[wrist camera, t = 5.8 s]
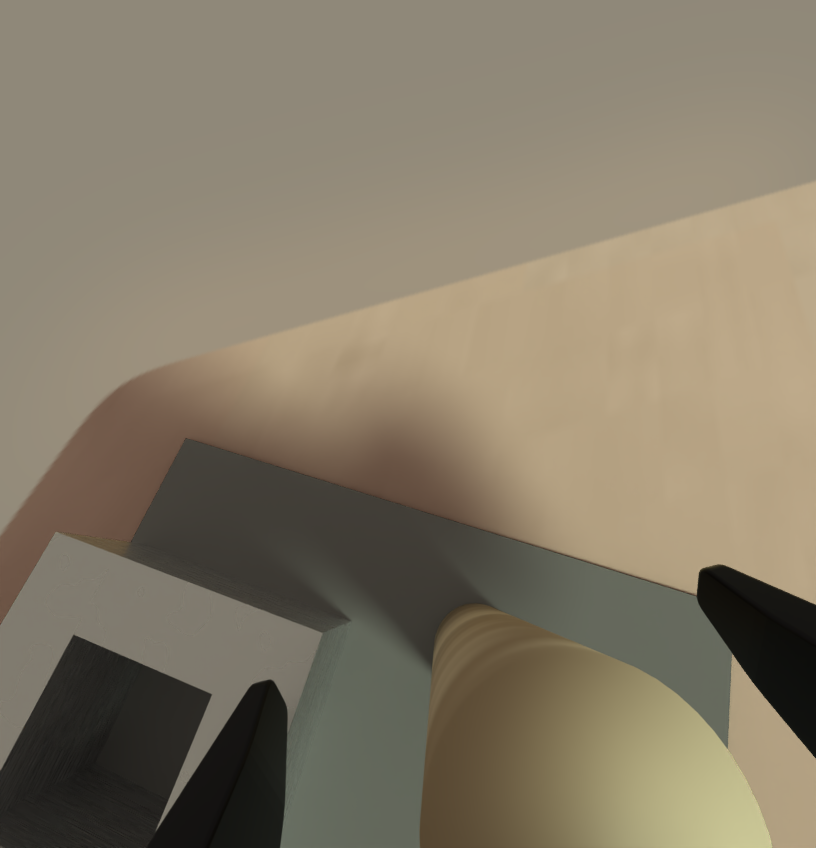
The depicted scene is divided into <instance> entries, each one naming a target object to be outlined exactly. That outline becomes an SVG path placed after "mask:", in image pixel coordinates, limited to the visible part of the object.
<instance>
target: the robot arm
mask: <svg viewBox="0 0 816 848" xmlns="http://www.w3.org/2000/svg"><path fill="white" fill-rule="evenodd" d="M697 600H698V604H699V606H700V608H701V609H702V611H703V612H704V614H705V615H706V617H707V618H708V620H709V621H710V622H711V624H712V625H713V627H714V628H715V630H716V631H717V632H718V634H719V635H720V637H721V638H722V640H723V641H724V642H725V644H726V645H727V647H728V648H729V650H730V651H731V652H732V654H733V655H734V657H735V658H736V660H737V661H738V662H739V664H740V665H741V667H742V668H743V670H744V671H745V672H746V674H747V675H748V676H749V678H750V679H751V681H752V682H753V683H754V685H755V686H756V687H757V688H758V690H759V691H760V692H761V693H762V694H763V696H764V697H765V698H766V699H767V701H768V702H769V703H770V704H771V705H772V707H773V708H774V709H775V710H776V711H777V713H778V714H779V715H780V716H781V717H782V719H783V720H784V721H785V722H786V723H787V725H788V726H789V727H790V728H791V729H792V731H793V732H794V733H795V734H796V735H797V737H798V738H799V739H800V740H801V741H802V743H803V744H804V745H805V746H806V747H807V749H808V750H809V751H810V752H811V753H812V755H813V756H814V757H815V758H816V605H815V604H813V603H810V602H808V601H806V600H804V599H801V598H799V597H797V596H794V595H792V594H790V593H787V592H785V591H783V590H781V589H778V588H776V587H774V586H771V585H769V584H767V583H764V582H762V581H760V580H758V579H755V578H753V577H751V576H748V575H746V574H744V573H741V572H739V571H737V570H734V569H732V568H730V567H728V566H725V565H713V566H710V567H706V568H703V569H701V570H700V572H699V578H698V588H697ZM287 726H288V711H287V706H286V703H285V701H284V699H283V697H282V695H281V693H280V691H279V689H278V687H277V686H276V684H275V682H274V681H273V680H271V679H268V680H264V681H260V682H256V683H254V684H252V685H251V686H250V687H249V688H248V690H247V691H246V693H245V694H244V696H243V697H242V699H241V700H240V702H239V704H238V705H237V707H236V708H235V710H234V711H233V713H232V714H231V716H230V717H229V719H228V721H227V722H226V724H225V725H224V727H223V728H222V730H221V731H220V733H219V735H218V736H217V738H216V739H215V741H214V742H213V744H212V745H211V747H210V748H209V750H208V752H207V753H206V755H205V756H204V758H203V759H202V761H201V762H200V764H199V765H198V767H197V769H196V770H195V772H194V773H193V775H192V776H191V778H190V779H189V781H188V782H187V784H186V786H185V787H184V789H183V790H182V792H181V793H180V795H179V796H178V798H177V799H176V801H175V803H174V804H173V806H172V807H171V809H170V810H169V812H168V813H167V815H166V816H165V818H164V820H163V821H162V823H161V824H160V826H159V827H158V829H157V830H156V832H155V833H154V835H153V837H152V838H151V840H150V841H149V843H148V844H147V846H146V847H145V848H280V846H281V838H282V829H283V820H284V810H285V793H286V760H287Z"/></svg>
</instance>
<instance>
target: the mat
mask: <svg viewBox="0 0 816 848" xmlns="http://www.w3.org/2000/svg"><path fill="white" fill-rule="evenodd" d="M131 542H134V543H141V544H145V545H147V546H150V547H153V548H155V549H158V550H161V551H164V552H166V553H169V554H172V555H174V556H177V557H180V558H182V559H185V560H188V561H191V562H193V563H196V564H199V565H201V566H204V567H207V568H210V569H212V570H215V571H218V572H220V573H223V574H226V575H228V576H231V577H234V578H237V579H239V580H242V581H245V582H247V583H250V584H253V585H255V586H258V587H261V588H264V589H266V590H269V591H272V592H274V593H277V594H280V595H283V596H285V597H288V598H291V599H293V600H296V601H299V602H301V603H304V604H307V605H310V606H312V607H315V608H318V609H320V610H323V611H326V612H329V613H331V614H334V615H337V616H339V617H342V618H345V619H347V620H350V621H352V622H351V625H350V628H349V631H348V634H347V637H346V640H345V643H344V646H343V649H342V652H341V655H340V658H339V661H338V664H337V667H336V670H335V673H334V676H333V679H332V682H331V685H330V688H329V691H328V694H327V697H326V700H325V703H324V706H323V709H322V712H321V715H320V718H319V721H318V724H317V727H316V730H315V733H314V736H313V739H312V742H311V745H310V748H309V751H308V754H307V757H306V760H305V763H304V766H303V769H302V772H301V775H300V778H299V781H298V784H297V787H296V790H295V793H294V796H293V799H292V803H291V806H290V809H289V812H288V815H287V818H286V821H285V824H284V827H283V830H282V838H281V846H280V848H420V834H419V828H420V815H421V802H422V790H423V777H424V765H425V752H426V740H427V727H428V715H429V702H430V690H431V677H432V664H433V652H434V641H435V636H436V633H437V630H438V627H439V625H440V624H441V622H442V620H443V619H444V618H445V617H446V615H447V614H449V613H450V612H451V611H452V610H454V609H455V608H457V607H459V606H462V605H465V604H470V603H479V604H484V605H488V606H490V607H493V608H495V609H497V610H500V611H502V612H505V613H507V614H509V615H512V616H514V617H517V618H519V619H521V620H524V621H526V622H529V623H531V624H533V625H536V626H538V627H540V628H543V629H545V630H548V631H550V632H552V633H555V634H557V635H560V636H562V637H564V638H567V639H569V640H571V641H574V642H576V643H579V644H581V645H583V646H586V647H588V648H591V649H593V650H595V651H598V652H600V653H603V654H605V655H607V656H610V657H612V658H614V659H617V660H619V661H622V662H624V663H626V664H629V665H631V666H634V667H636V668H638V669H640V670H641V671H643V672H645V673H647V674H649V675H650V676H652V677H654V678H656V679H657V680H659V681H660V682H661V683H663V684H664V685H666V686H667V687H668V688H670V689H671V690H672V691H674V692H675V693H677V694H678V695H679V696H680V697H681V698H682V699H683V700H684V701H685V702H687V703H688V704H689V705H690V706H691V707H692V708H693V709H694V710H695V711H696V712H697V713H698V714H699V715H700V716H701V717H702V718H703V719H704V720H705V722H706V723H707V724H708V725H709V726H710V727H711V728H712V729H713V730H714V732H715V733H716V734H717V736H718V737H719V738H720V740H721V741H722V742H723V744H724V745H725V747H726V748H727V749H728V728H729V706H730V683H731V660H732V652H731V651H730V650H729V648H728V647H727V645H726V644H725V642H724V641H723V640H722V638H721V637H720V635H719V634H718V632H717V631H716V630H715V628H714V627H713V625H712V624H711V622H710V621H709V620H708V618H707V617H706V615H705V614H704V612H703V611H702V609H701V608H700V606H699V604H698V600H697V597H696V596H693V595H690V594H687V593H684V592H680V591H677V590H674V589H671V588H667V587H664V586H661V585H658V584H655V583H651V582H648V581H645V580H642V579H638V578H635V577H632V576H629V575H626V574H622V573H619V572H616V571H613V570H609V569H606V568H603V567H600V566H597V565H593V564H590V563H587V562H584V561H580V560H577V559H574V558H571V557H568V556H564V555H561V554H558V553H555V552H551V551H548V550H545V549H542V548H539V547H535V546H532V545H529V544H526V543H522V542H519V541H516V540H513V539H510V538H506V537H503V536H500V535H497V534H493V533H490V532H487V531H484V530H481V529H477V528H474V527H471V526H468V525H464V524H461V523H458V522H455V521H452V520H448V519H445V518H442V517H439V516H435V515H432V514H429V513H426V512H423V511H419V510H416V509H413V508H410V507H406V506H403V505H400V504H397V503H394V502H390V501H387V500H384V499H381V498H377V497H374V496H371V495H368V494H364V493H361V492H358V491H355V490H352V489H348V488H345V487H342V486H339V485H335V484H332V483H329V482H326V481H323V480H319V479H316V478H313V477H310V476H306V475H303V474H300V473H297V472H294V471H290V470H287V469H284V468H281V467H277V466H274V465H271V464H268V463H265V462H261V461H258V460H255V459H252V458H248V457H245V456H242V455H239V454H236V453H232V452H229V451H226V450H223V449H219V448H216V447H213V446H210V445H207V444H203V443H200V442H197V441H194V440H190V439H187V438H186V439H185V441H184V443H183V445H182V447H181V449H180V450H179V452H178V454H177V456H176V458H175V460H174V462H173V464H172V465H171V467H170V469H169V471H168V473H167V475H166V477H165V479H164V481H163V482H162V484H161V486H160V488H159V490H158V492H157V494H156V496H155V498H154V499H153V501H152V503H151V505H150V507H149V509H148V511H147V513H146V515H145V516H144V518H143V520H142V522H141V524H140V526H139V528H138V530H137V532H136V533H135V535H134V537H133V539H132V541H131ZM211 696H212V694H211V693H208V692H206V691H204V690H201V689H199V688H197V687H194V686H192V685H190V684H187V683H185V682H183V681H180V680H178V679H176V678H173V677H171V676H169V675H166V674H164V673H162V672H160V671H157V670H155V669H153V668H150V667H148V666H146V665H143V664H142V666H141V668H140V670H139V672H138V674H137V677H136V679H135V681H134V683H133V685H132V687H131V689H130V691H129V693H128V696H127V698H126V700H125V702H124V704H123V706H122V708H121V710H120V712H119V715H118V717H117V719H116V721H115V723H114V725H113V727H112V729H111V731H110V734H109V736H108V738H107V740H106V742H105V744H104V746H103V748H102V750H101V752H100V755H99V757H98V759H97V761H96V763H95V764H97V765H99V766H101V767H103V768H105V769H107V770H109V771H111V772H113V773H115V774H117V775H120V776H122V777H124V778H126V779H128V780H130V781H132V782H134V783H136V784H138V785H140V786H142V787H144V788H146V789H148V790H150V791H152V792H154V793H156V794H158V795H160V796H162V797H164V798H166V799H168V800H169V798H170V795H171V793H172V790H173V788H174V786H175V783H176V781H177V778H178V776H179V774H180V771H181V769H182V766H183V764H184V762H185V759H186V757H187V754H188V752H189V749H190V747H191V745H192V742H193V740H194V737H195V735H196V733H197V730H198V728H199V725H200V723H201V720H202V718H203V716H204V713H205V711H206V708H207V706H208V704H209V701H210V699H211Z"/></svg>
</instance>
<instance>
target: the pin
mask: <svg viewBox="0 0 816 848" xmlns="http://www.w3.org/2000/svg"><path fill="white" fill-rule="evenodd" d="M419 834H420V848H773V847H772V843H771V840H770V836H769V833H768V830H767V827H766V824H765V822H764V819H763V816H762V814H761V811H760V808H759V805H758V803H757V801H756V799H755V797H754V795H753V793H752V791H751V789H750V787H749V784H748V782H747V780H746V778H745V777H744V775H743V773H742V772H741V770H740V768H739V767H738V765H737V763H736V762H735V760H734V758H733V757H732V755H731V753H730V752H729V751H728V749H727V748H726V747H725V745H724V744H723V742H722V741H721V740H720V738H719V737H718V736H717V734H716V733H715V732H714V730H713V729H712V728H711V727H710V726H709V725H708V724H707V723H706V722H705V720H704V719H703V718H702V717H701V716H700V715H699V714H698V713H697V712H696V711H695V710H694V709H693V708H692V707H691V706H690V705H689V704H688V703H687V702H685V701H684V700H683V699H682V698H681V697H680V696H679V695H678V694H677V693H675V692H674V691H672V690H671V689H670V688H668V687H667V686H666V685H664V684H663V683H661V682H660V681H659V680H657V679H656V678H654V677H652V676H650V675H649V674H647V673H645V672H643V671H641V670H640V669H638V668H636V667H634V666H631V665H629V664H626V663H624V662H622V661H619V660H617V659H614V658H612V657H610V656H607V655H605V654H603V653H600V652H598V651H595V650H593V649H591V648H588V647H586V646H583V645H581V644H579V643H576V642H574V641H571V640H569V639H567V638H564V637H562V636H560V635H557V634H555V633H552V632H550V631H548V630H545V629H543V628H540V627H538V626H536V625H533V624H531V623H529V622H526V621H524V620H521V619H519V618H517V617H514V616H512V615H509V614H507V613H505V612H502V611H500V610H497V609H495V608H493V607H490V606H488V605H484V604H479V603H470V604H465V605H462V606H459V607H457V608H455V609H454V610H452V611H451V612H450V613H449V614H447V615H446V617H445V618H444V619H443V620H442V622H441V624H440V625H439V627H438V630H437V633H436V636H435V641H434V652H433V664H432V677H431V690H430V702H429V715H428V727H427V740H426V752H425V765H424V777H423V790H422V802H421V815H420V828H419Z"/></svg>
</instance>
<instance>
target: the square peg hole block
mask: <svg viewBox="0 0 816 848" xmlns="http://www.w3.org/2000/svg"><path fill="white" fill-rule="evenodd" d="M351 622H352V621H350V620H347V619H345V618H342V617H339V616H337V615H334V614H331V613H329V612H326V611H323V610H320V609H318V608H315V607H312V606H310V605H307V604H304V603H301V602H299V601H296V600H293V599H291V598H288V597H285V596H283V595H280V594H277V593H274V592H272V591H269V590H266V589H264V588H261V587H258V586H255V585H253V584H250V583H247V582H245V581H242V580H239V579H237V578H234V577H231V576H228V575H226V574H223V573H220V572H218V571H215V570H212V569H210V568H207V567H204V566H201V565H199V564H196V563H193V562H191V561H188V560H185V559H182V558H180V557H177V556H174V555H172V554H169V553H166V552H164V551H161V550H158V549H155V548H153V547H150V546H147V545H145V544H141V543H134V542H126V541H119V540H112V539H105V538H98V537H91V536H84V535H76V534H69V533H62V532H55V534H54V536H53V537H52V539H51V541H50V542H49V544H48V546H47V547H46V549H45V551H44V553H43V554H42V556H41V558H40V559H39V561H38V563H37V564H36V566H35V568H34V569H33V571H32V573H31V574H30V576H29V578H28V579H27V581H26V583H25V584H24V586H23V588H22V589H21V591H20V593H19V594H18V596H17V598H16V600H15V601H14V603H13V605H12V606H11V608H10V610H9V611H8V613H7V615H6V616H5V618H4V620H3V621H2V623H1V625H0V848H145V847H146V846H147V844H148V843H149V841H150V840H151V838H152V837H153V835H154V833H155V832H156V830H157V829H158V827H159V826H160V824H161V823H162V821H163V820H164V818H165V816H166V815H167V813H168V812H169V810H170V809H171V807H172V806H173V804H174V803H175V801H176V799H177V798H178V796H179V795H180V793H181V792H182V790H183V789H184V787H185V786H186V784H187V782H188V781H189V779H190V778H191V776H192V775H193V773H194V772H195V770H196V769H197V767H198V765H199V764H200V762H201V761H202V759H203V758H204V756H205V755H206V753H207V752H208V750H209V748H210V747H211V745H212V744H213V742H214V741H215V739H216V738H217V736H218V735H219V733H220V731H221V730H222V728H223V727H224V725H225V724H226V722H227V721H228V719H229V717H230V716H231V714H232V713H233V711H234V710H235V708H236V707H237V705H238V704H239V702H240V700H241V699H242V697H243V696H244V694H245V693H246V691H247V690H248V688H249V687H250V686H251V685H252V684H254V683H256V682H260V681H264V680H268V679H271V680H273V681H274V682H275V684H276V686H277V687H278V689H279V691H280V693H281V695H282V697H283V699H284V701H285V703H286V706H287V711H288V726H287V760H286V793H285V810H284V820H283V827H284V824H285V821H286V818H287V815H288V812H289V809H290V806H291V803H292V799H293V796H294V793H295V790H296V787H297V784H298V781H299V778H300V775H301V772H302V769H303V766H304V763H305V760H306V757H307V754H308V751H309V748H310V745H311V742H312V739H313V736H314V733H315V730H316V727H317V724H318V721H319V718H320V715H321V712H322V709H323V706H324V703H325V700H326V697H327V694H328V691H329V688H330V685H331V682H332V679H333V676H334V673H335V670H336V667H337V664H338V661H339V658H340V655H341V652H342V649H343V646H344V643H345V640H346V637H347V634H348V631H349V628H350V625H351ZM142 664H143V665H146V666H148V667H150V668H153V669H155V670H157V671H160V672H162V673H164V674H166V675H169V676H171V677H173V678H176V679H178V680H180V681H183V682H185V683H187V684H190V685H192V686H194V687H197V688H199V689H201V690H204V691H206V692H208V693H211V694H212V696H211V699H210V701H209V704H208V706H207V708H206V711H205V713H204V716H203V718H202V720H201V723H200V725H199V728H198V730H197V733H196V735H195V737H194V740H193V742H192V745H191V747H190V749H189V752H188V754H187V757H186V759H185V762H184V764H183V766H182V769H181V771H180V774H179V776H178V778H177V781H176V783H175V786H174V788H173V790H172V793H171V795H170V798H169V800H168V799H166V798H164V797H162V796H160V795H158V794H156V793H154V792H152V791H150V790H148V789H146V788H144V787H142V786H140V785H138V784H136V783H134V782H132V781H130V780H128V779H126V778H124V777H122V776H120V775H117V774H115V773H113V772H111V771H109V770H107V769H105V768H103V767H101V766H99V765H97V764H95V763H96V761H97V759H98V757H99V755H100V752H101V750H102V748H103V746H104V744H105V742H106V740H107V738H108V736H109V734H110V731H111V729H112V727H113V725H114V723H115V721H116V719H117V717H118V715H119V712H120V710H121V708H122V706H123V704H124V702H125V700H126V698H127V696H128V693H129V691H130V689H131V687H132V685H133V683H134V681H135V679H136V677H137V674H138V672H139V670H140V668H141V666H142ZM282 830H283V829H282Z"/></svg>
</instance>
